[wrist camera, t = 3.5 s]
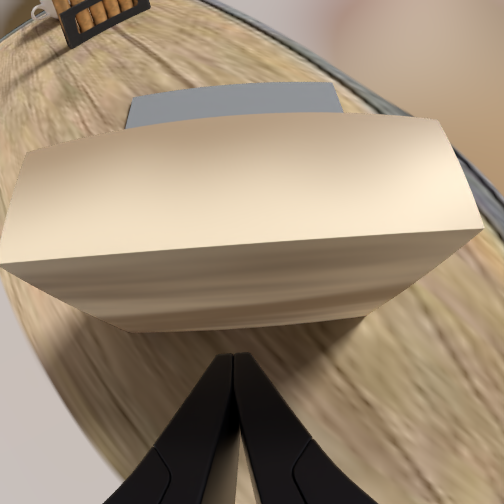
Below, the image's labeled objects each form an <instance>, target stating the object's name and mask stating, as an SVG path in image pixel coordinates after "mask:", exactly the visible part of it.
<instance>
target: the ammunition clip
mask: <svg viewBox="0 0 504 504" xmlns="http://www.w3.org/2000/svg"><path fill="white" fill-rule="evenodd" d="M69 1H70V4H69V2H68V0H52V2H53V5H54V8H55V10H56V13H57V16H58V19H59V22H60V25H61V28H62V31H63V33H64V36H65V39H66V42H67V45H68V46H69V47H70V48H71V49H73V48H75V47H76V46H78V45H80V44H81V43H83V42H85V41H87V40H88V39H90V38H92V37H94V36H95V35H97V34H99V33H101V32H103V31H105V30H106V29H108V28H110V27H112V26H114V25H116V24H118V23H120V22H122V21H124V20H126V19H128V18H130V17H132V16H135V15H137V14H139V13H141V12H143V11H146V10H148V9H150V7H151V6H150V3H149V0H69ZM88 8H89V10H90V12H89V10H88ZM90 13H91V15H90ZM91 16H92V18H91ZM75 18H76V20H77V23H78V25H77V23H76V20H75ZM92 19H93V21H92ZM78 26H79V28H80V29H79V28H78Z"/></svg>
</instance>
